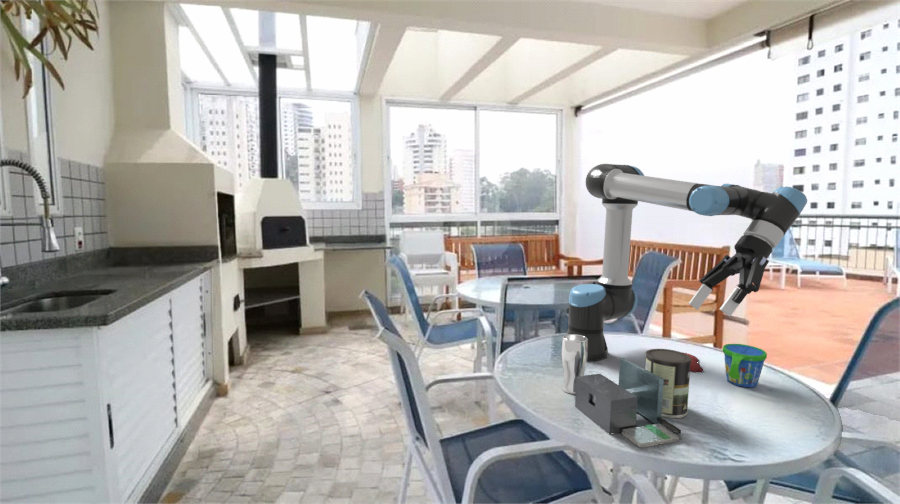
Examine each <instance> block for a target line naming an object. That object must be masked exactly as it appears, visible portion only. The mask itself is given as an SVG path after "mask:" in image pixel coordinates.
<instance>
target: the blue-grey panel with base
mask: <svg viewBox="0 0 900 504" xmlns="http://www.w3.org/2000/svg"><path fill="white" fill-rule="evenodd" d="M618 368H619V371H618V385H619V386H621V387H622V388H624V389H625V390H627V391H629V392H630V393H632V394H633V395H635V396H637V411H636V413H638V414H640V415H641V416H642V417H645V418H646V419H647V420H649V421H650V422H652V423H653V424H660V423H662V424H663V425H665V426H667V427H668V428H670V429H671V430H673V431H674V432H676V433H677V434H679V435H681V434H682V430H681V429H680V428H679V427H677V426H676V425H674V424H672V423H671V422H670V421H668V420H666V419H665V418H664V417H663V416H661V411H662V396H663V381H664V379H663V378H661V377H659V376H657V375H655V374H653V373H651V372H649V371H648V370H646V369H645V368H644V367H642V366H641V365H640V366H639V365H638V364H636V363H634V362H633V361H631V360H628V359H627V358H624V357H623V358H621V357H620V358H619V367H618ZM592 402H594V403H595V396H592ZM660 425H661V424H660Z"/></svg>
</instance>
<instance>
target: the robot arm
mask: <svg viewBox="0 0 900 504" xmlns="http://www.w3.org/2000/svg"><path fill="white" fill-rule="evenodd" d="M585 187H586V190H587V192H588V193H589V194H590V195H591V197H594V198H597V199H601V205H602V206H603V207H604V208H605V224H604V225H605V226H604V237H603V238H604V240H603V241H604V242H603V255H602V256H603V257H602V259H603V260H602V270H601V271H602V274H601V275H600V277H599V278H597V281H596V284H595V283H587V284H584V283H583V284H578V285H576V286H573V287H572V288H571V289H570V290H569V297H568V320H567V321H568V322H567V324H568V325H567V332H566V334H565V335H567V334H577V335H582V336H585V337H587V339H588V340H587V341H588V357H587V362H589V361H592V362H593V361H595V362H596V361H602V360H604V359H606V358H608V355H609V348H608V345H607V341H606V338H605V335H604V324H605V322H606V321H612V320H617V319H619V320H620V319H622V318H623V319H624V318H625V317H628V316H631V314H632V313H634V312H635V310H636V309H637V306H638V300H639V299H638V294H637V292H636V291H635V289H634V287H633V282H632V281H631V280H630V279H629V264H630V253H631V251H630V250H631V237H632V223H633V222H632V221H633V220H632V219H633V210H634V209H635V208H636V207H637V206H638V205H639V204H638V203H639V202H642V203H646V204H652V205H657V206H662V207H668V208H672V209H679V210H683V211H689V212H694V213H696V214H698V215H700V216H705V217H706V216H707V217H715V216H740V217H743V218H747V219H750V220H752V221H751V222H750V223H749V224H748V226H747V228H746V229H745V230H744V232H743V235H741V236H740V237H739V239H738V240H737V241H736V243H735V245H734V247H733V248H734V250H735V254H733V256H730V255H728V254H726V255H724V256H723V258H722V259H721V260H720V261H719V262H718V263H717V264H716V265H715V266H713V267H712V268H711V269H710V270H709V271H708V272H707V273H705V275H703V276H702V277H701V278H700V279H699V283H700V284H701V285H700V287H699V289H698V290H697V291H696V293H694V295H693V296H692V298H691V299H690V301H689V302H688V305H689V306H692V307H693V308H694V309H695V310H697V311H699V309H700V308H701V306H702V305H703V304H704V302H705V301H706V300H707V298H708V297H709V296H710V294H711V293H712V291H714V288H715V287H716V286H717V285H718V284H720V283H722V282H723V281H725V280H726V279H727V278H728V277H730V276H732V277H733V276H735V275H738V274H739V277H738V278H739V279H738V281H739V282H738V283H737V284H736V286H737V287H735V288H734V289H733V290H732V292H731V293H730V294H729V295H728V297H727V298H726V299H725V301H724V302H723V304H722V305H721V306H720V308H719V310H720V311H721V312H722V313H724V314H725V315H726V316H728V317H731V316H732V315H733V314H734V313H735V311H736V310H737V308H738V307H739V306H740V305H741V303H742V302H743V300H744V299H745V298H746V297H747V295H750V294H751V293H752V292H754V293H757V292H759V290H760V287H761V285H762V284H761V283H762V279H763V276H764V273H765V270H766V267H767V266H768V264H769V263H770V260H769V259H768V258H769V257H770V255H771V254H772V252H773V250H774V249H775V248H776V247H777V246H778V245H779V244H780V242H781V240H782V239H783V237H784V236H785V235H786V233H787V232H788V231H789V230H790V228H791V226H792V225H793V224H794V223H795V221H796V220H797V219H798V218H799V217H800V216H801V213H802V212H803V211H804V209H805V207H806V205H807V204H808V198H807V196H806V194H805V193H803V191H801V190H799V189H796V188H795V187H792V186H779V187H777V188H776V189H775V190H774V191H773V192H772V193H770V192H768V191H767V192H766V191H761V190H756V189H753V188H749V187H746V186H741V185H739V184H731V183H723V184H721V185H714V184H713V185H712V184H708V183H707V184H704V183H698V182H690V181H683V180H676V179H669V178H662V177H654V176H646V175H645V174H644V172H642V170H641V169H639V168H638V167H636V166H635V165H630V164H612V163H600V164H598V165H595V166H594V167H592V168H591V169H590V170H589V172H587V175H586V177H585Z"/></svg>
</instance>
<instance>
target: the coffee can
mask: <svg viewBox="0 0 900 504" xmlns="http://www.w3.org/2000/svg"><path fill="white" fill-rule="evenodd" d="M684 353H685V352H683V353H682V351H678V350H675V349H674V350H673V349H669V348H651V349H648V350H646V351H645V368H644V369H646V370H648V371H649V372H651V373H653V374H655V375H657V376H659V377H661V378H663V379H664V381H663V396H662V411H661V417H662V418H668V419H680V418H684V417H686V416H688V409H689V408H688V404H689V391H690V390H689V389H690V378H691V377H690V375H691V372H690V365H691V360H692V359H691V357H690V356H688V355H687V354H688V353H687V354H684Z"/></svg>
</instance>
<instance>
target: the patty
mask: <svg viewBox="0 0 900 504" xmlns="http://www.w3.org/2000/svg"><path fill="white" fill-rule="evenodd" d="M681 352H682V351H681ZM682 353H684V354H687V355H688V356H690V357H691V359H692V360H691V365H690V371H692V372H691V373H696V372H701V373H703V372H704V371H703V370H704V369H703V367H702V366H701V365H700V363H699V362H700V360H699V358H698V357H696V356H695V355H693V354H690V353H687V352H682ZM698 361H699V362H698ZM697 362H698V363H697ZM702 371H703V372H702Z"/></svg>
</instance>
